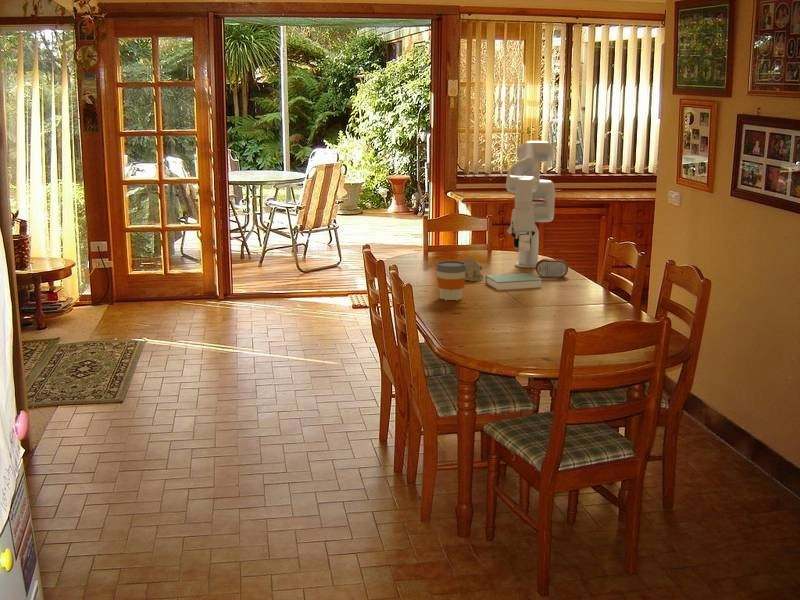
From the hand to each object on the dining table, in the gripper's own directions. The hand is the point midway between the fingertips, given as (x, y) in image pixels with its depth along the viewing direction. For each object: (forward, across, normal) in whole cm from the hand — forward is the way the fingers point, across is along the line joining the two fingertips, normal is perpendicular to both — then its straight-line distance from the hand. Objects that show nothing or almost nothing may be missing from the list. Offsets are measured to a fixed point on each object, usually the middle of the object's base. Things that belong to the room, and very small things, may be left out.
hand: (522, 246), depth 416 cm
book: (+18, +4, 0) cm, 18 cm away
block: (+2, 0, 0) cm, 2 cm away
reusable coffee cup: (+18, +39, +16) cm, 46 cm away
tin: (+18, -20, -12) cm, 29 cm away
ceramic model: (+18, +18, -20) cm, 32 cm away
